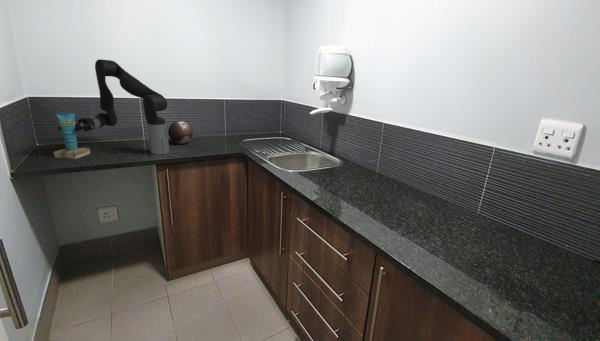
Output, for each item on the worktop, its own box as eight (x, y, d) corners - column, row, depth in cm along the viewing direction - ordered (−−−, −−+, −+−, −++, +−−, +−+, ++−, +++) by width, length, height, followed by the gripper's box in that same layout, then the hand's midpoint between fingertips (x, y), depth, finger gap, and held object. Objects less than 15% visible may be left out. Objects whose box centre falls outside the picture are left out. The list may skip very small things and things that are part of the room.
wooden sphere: (180, 147, 184) (179, 123, 179) (164, 143, 189) (161, 121, 185) (198, 143, 196) (196, 121, 192) (182, 139, 202) (180, 118, 198)
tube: (64, 151, 151) (56, 114, 145) (62, 149, 154) (55, 113, 148) (81, 149, 156) (74, 113, 150) (79, 147, 159) (73, 112, 153)
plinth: (90, 153, 161) (89, 147, 160) (75, 158, 150) (74, 152, 149) (70, 152, 161) (69, 146, 160) (54, 157, 150) (53, 151, 149)
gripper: (75, 116, 165) (52, 121, 149) (100, 118, 165) (79, 122, 150) (77, 129, 167) (55, 135, 152) (102, 130, 167) (82, 136, 152)
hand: (67, 128), depth 151 cm, fingers open, 8 cm apart
